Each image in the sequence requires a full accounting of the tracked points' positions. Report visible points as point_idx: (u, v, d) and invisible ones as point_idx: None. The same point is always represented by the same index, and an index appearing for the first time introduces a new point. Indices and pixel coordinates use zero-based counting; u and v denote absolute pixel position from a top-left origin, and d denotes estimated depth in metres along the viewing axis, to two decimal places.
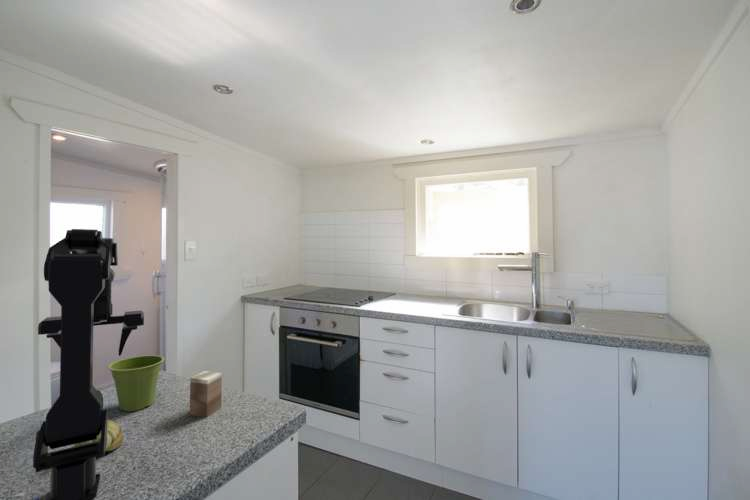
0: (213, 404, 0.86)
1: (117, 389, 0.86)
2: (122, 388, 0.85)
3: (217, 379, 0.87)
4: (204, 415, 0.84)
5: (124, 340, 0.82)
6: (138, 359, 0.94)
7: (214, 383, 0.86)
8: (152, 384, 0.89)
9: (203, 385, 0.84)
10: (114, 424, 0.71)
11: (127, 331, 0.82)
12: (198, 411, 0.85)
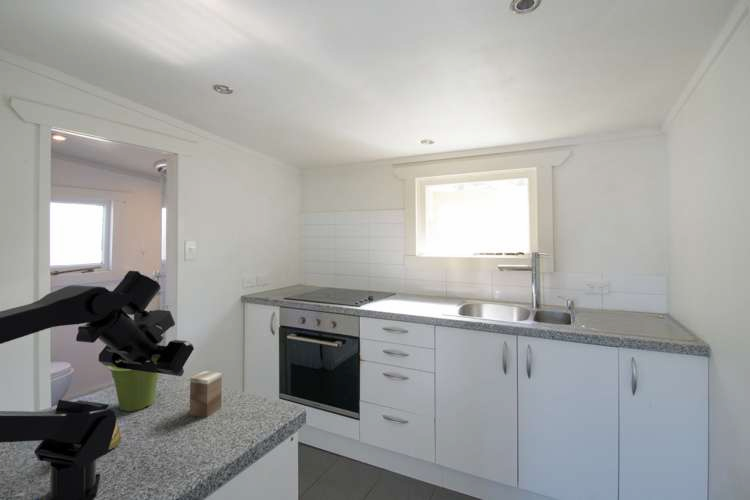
0: (213, 404, 0.86)
1: (117, 389, 0.86)
2: (122, 388, 0.85)
3: (217, 379, 0.87)
4: (204, 415, 0.84)
5: (170, 374, 0.71)
6: None
7: (214, 383, 0.86)
8: (152, 384, 0.89)
9: (203, 385, 0.84)
10: None
11: None
12: (198, 411, 0.85)
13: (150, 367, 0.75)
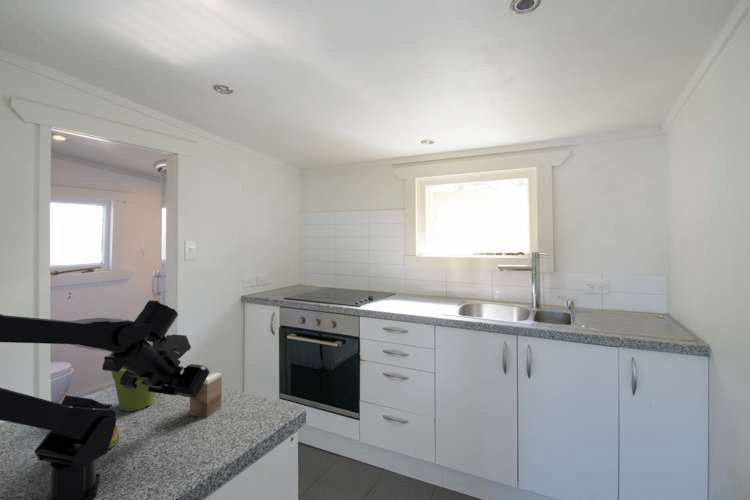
0: (213, 404, 0.86)
1: (117, 389, 0.86)
2: (122, 388, 0.85)
3: (217, 379, 0.87)
4: (204, 415, 0.84)
5: (175, 394, 0.76)
6: None
7: (214, 383, 0.86)
8: None
9: (203, 385, 0.84)
10: None
11: (170, 394, 0.74)
12: (198, 411, 0.85)
13: None
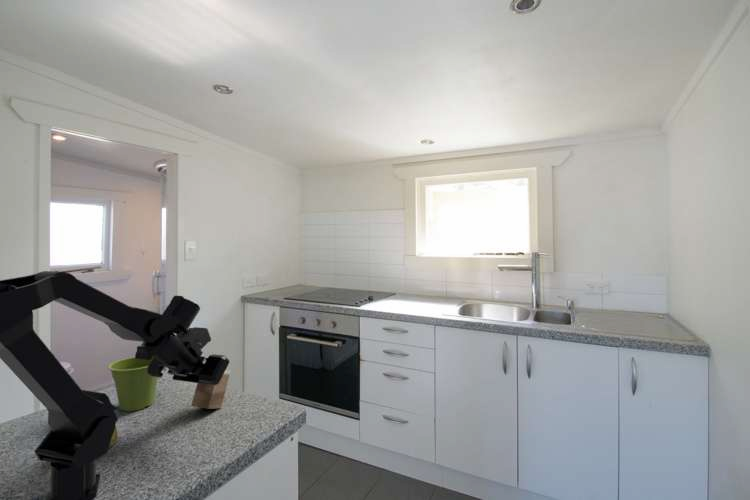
0: (216, 398, 0.87)
1: (117, 389, 0.86)
2: (122, 388, 0.85)
3: (226, 375, 0.91)
4: (206, 406, 0.85)
5: (197, 382, 0.83)
6: (138, 359, 0.94)
7: (222, 377, 0.89)
8: (152, 384, 0.89)
9: None
10: None
11: None
12: (201, 402, 0.85)
13: None
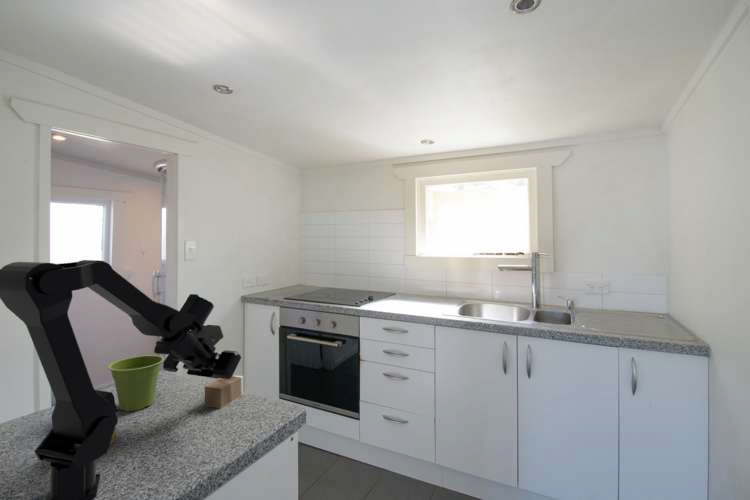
0: (227, 393, 0.91)
1: (117, 389, 0.86)
2: (122, 388, 0.85)
3: (240, 390, 0.96)
4: (219, 387, 0.89)
5: (210, 377, 0.87)
6: (138, 359, 0.94)
7: (239, 387, 0.96)
8: (152, 384, 0.89)
9: (236, 377, 0.96)
10: None
11: None
12: (216, 386, 0.90)
13: None
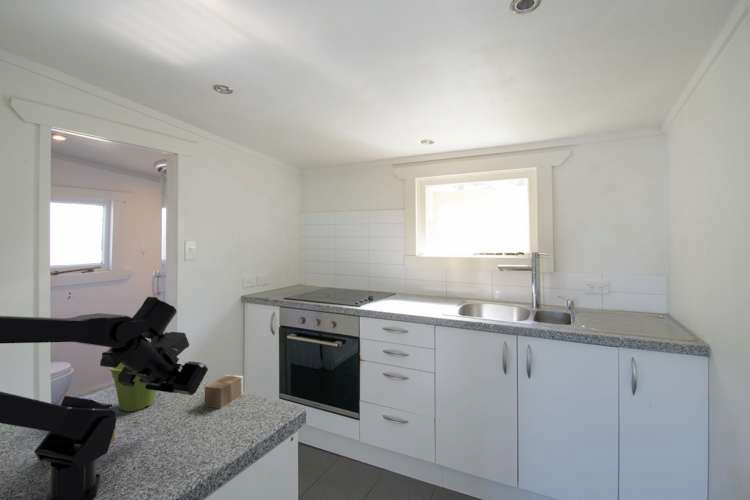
0: (227, 393, 0.91)
1: (117, 389, 0.86)
2: (122, 388, 0.85)
3: (240, 390, 0.96)
4: (219, 387, 0.89)
5: (173, 392, 0.76)
6: None
7: (239, 387, 0.96)
8: None
9: (236, 377, 0.96)
10: None
11: None
12: (216, 386, 0.90)
13: None
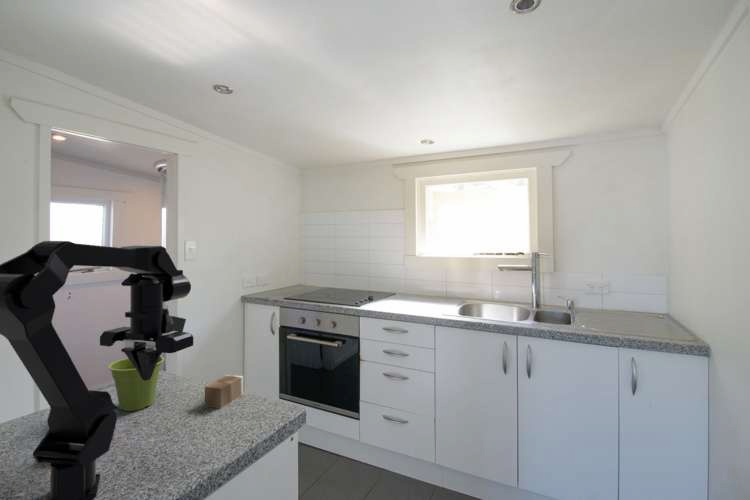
0: (227, 393, 0.91)
1: (117, 389, 0.86)
2: (122, 388, 0.85)
3: (240, 390, 0.96)
4: (219, 387, 0.89)
5: (142, 364, 0.71)
6: None
7: (239, 387, 0.96)
8: (152, 384, 0.89)
9: (236, 377, 0.96)
10: None
11: (142, 355, 0.70)
12: (216, 386, 0.90)
13: None
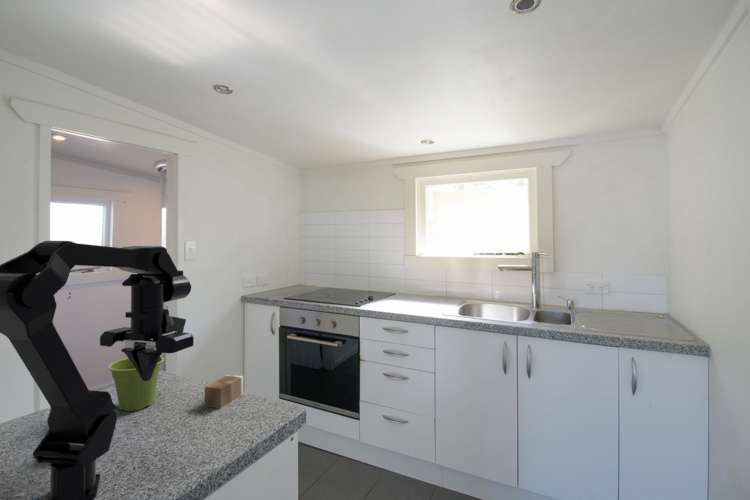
0: (227, 393, 0.91)
1: (117, 389, 0.86)
2: (122, 388, 0.85)
3: (240, 390, 0.96)
4: (219, 387, 0.89)
5: (142, 365, 0.71)
6: None
7: (239, 387, 0.96)
8: (152, 384, 0.89)
9: (236, 377, 0.96)
10: None
11: (142, 355, 0.70)
12: (216, 386, 0.90)
13: None
